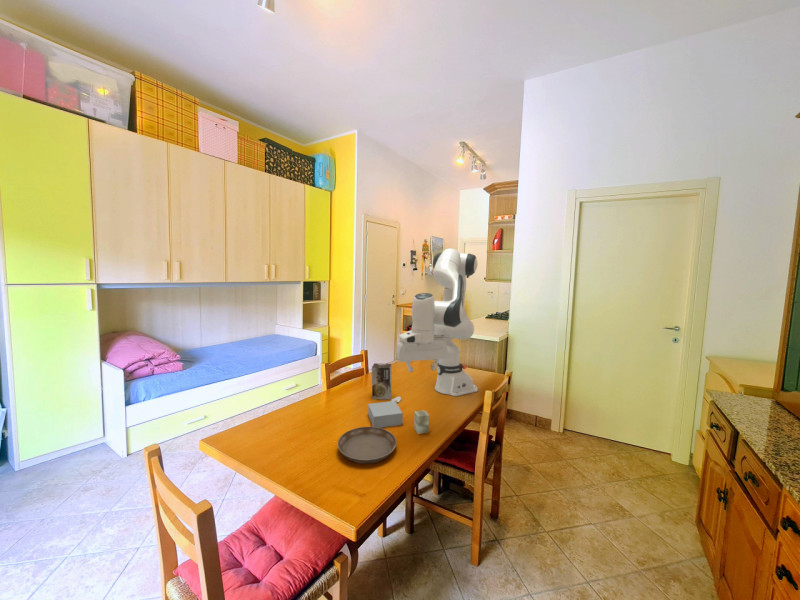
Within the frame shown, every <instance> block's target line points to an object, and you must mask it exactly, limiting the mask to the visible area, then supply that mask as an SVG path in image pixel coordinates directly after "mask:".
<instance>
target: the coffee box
mask: <svg viewBox="0 0 800 600" xmlns="http://www.w3.org/2000/svg"><path fill="white" fill-rule="evenodd" d="M371 393H372V395H371V397H372V399H373V400H391V398H392V395H393V394H392V363H376V362H375V363H373V365H372V366H371Z"/></svg>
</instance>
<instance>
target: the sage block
mask: <svg viewBox="0 0 800 600" xmlns="http://www.w3.org/2000/svg"><path fill="white" fill-rule="evenodd" d="M413 412H414V415H413V416H414V418H413V419H414V421H413V428H414V430H415V431H416V434H417V435H420V434H428V433H429V431H430V414H429V413H428V412H427V411H426V410H423V409H422V410H416V411H413Z"/></svg>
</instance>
